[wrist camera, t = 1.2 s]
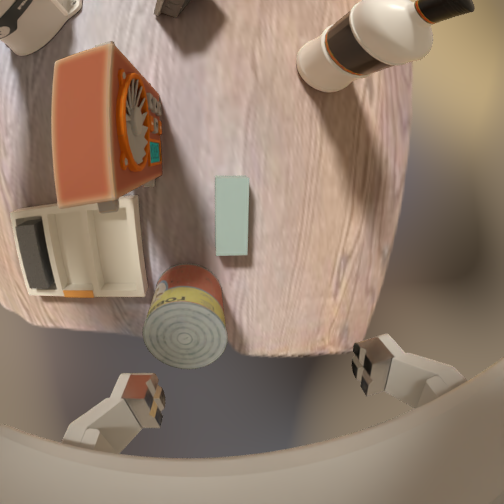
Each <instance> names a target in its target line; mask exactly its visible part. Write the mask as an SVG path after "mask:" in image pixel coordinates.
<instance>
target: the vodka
mask: <svg viewBox="0 0 504 504" xmlns="http://www.w3.org/2000/svg"><path fill="white" fill-rule="evenodd" d="M473 11H474V4H473V2H472V0H417V1H415V2H411V1H410V0H362V1H361V2H359V3H357V4H355V5H354V6H353V8H352V9H351V11H350V12H348V13H347V14H346V15H345V16H343V17H342V18H341V19H340V20H339V21H337V22H336V23H335V24H333V25H331V26H329V27H327V28H326V29H325V30H324V31H323V33H322V35H320V36H319V37H318V38H316V39H313V40H311V41H309V42H307V43H306V44H304V45H303V46H302V47H301V48H300V50H299V51H298V53H297V57H296V65H297V69H298V72H299V74H300V76H301V77H302V78H303V80H304V81H305V82H306V83H307V84H308V85H310V86H311V87H313V88H315V89H317V90H319V91H322V92H336V91H339V90H342V89H344V88H345V87H347V86H348V85H349V84H350V83H351V82H353V81H355V80H357V79H360V78H366V77H368V76H370V75H371V74H372V73H374V72H377V71H380V70H383V69H386V68H389V67H392V66H395V65H403V64H406V63H408V62H413V61H417V60H421V59H422V58H423V57H425V56H426V55H427V54H428V53H429V51H430V50H431V47H432V43H433V34H432V30H431V27H430V26H431V25H432V24H434V23H437V22H440V21H443V20H446V19H449V18H452V17H455V16H459V15H462V14H465V13H469V12H473Z"/></svg>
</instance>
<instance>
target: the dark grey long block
mask: <svg viewBox="0 0 504 504" xmlns="http://www.w3.org/2000/svg"><path fill="white" fill-rule="evenodd" d="M15 228H16V234H17V239H18V244H19V249H20V253H21V258H22V262H23V266H24V270H25V273H26V277H27V281H28V284H29V288H39V289H48V288H49V287H50V286H51V285H52V284H53V283H54V282H55V280H54V276H53V272H52V268H51V263H50V259H49V254H48V249H47V244H46V239H45V234H44V228H43V221H42V219H35V220H27V221H25V222H24V223H22V224H20V225H18V226H16V227H15Z"/></svg>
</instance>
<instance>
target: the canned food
mask: <svg viewBox="0 0 504 504" xmlns="http://www.w3.org/2000/svg"><path fill="white" fill-rule="evenodd" d="M143 339H144V343H145V345H146V347H147V348H148V350H149V351H150V353H151V354H152V355H153V356H154V357H156V358H157V359H158V360H159V361H161V362H163V363H165V364H167V365H169V366H172V367H176V368H181V369H196V368H201V367H204V366H207V365H209V364H211V363H213V362H214V361H216V360H217V359H218V358H219V357H220V356H221V355H222V354H223V352H224V351H225V348H226V345H227V341H228V335H227V330H226V325H225V317H224V309H223V300H222V288H221V285H220V283H219V281H218V279H217V278H216V277H215V275H214V274H213V273H212V272H210V271H209V270H207V269H206V268H204V267H202V266H199V265H195V264H180V265H176V266H173V267H171V268H169V269H168V270H166V271H165V272H164V273H163V274H162V275H161V277H160V278H159V280H158V282H157V285H156V290H155V293H154V296H153V299H152V302H151V305H150V308H149V312H148V315H147V318H146V320H145V323H144V326H143Z"/></svg>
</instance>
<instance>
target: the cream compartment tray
mask: <svg viewBox="0 0 504 504" xmlns="http://www.w3.org/2000/svg"><path fill="white" fill-rule="evenodd" d="M10 216H11V223H12V229H13V234H14V239H15V244H16V249H17V253H18V258H19V262H20V266H21V270H22V273H23V277H24V281H25V284H26V287H27V291H28V294H29V295H40V296H65V297H80V298H94V297H145V295H146V293H147V290H148V283H147V276H146V269H145V262H144V254H143V245H142V236H141V226H140V214H139V201H138V195H131V196H121V197H119V209H118V211H117V212H111V213H103V214H102V213H100V212H99V209H98V204H97V203H94V204H87V205H81V206H75V207H70V208H64V209H60V208H58V204H57V203H55V204H47V205H40V206H34V207H27V208H21V209H18V210H15V211H13V212H11V213H10ZM35 219H42V221H43V228H44V234H45V239H46V244H47V249H48V254H49V259H50V263H51V268H52V272H53V276H54V280H55V282H54V283H53V284H52V285H51V286H50V287H49V288H48V289H39V288H29V284H28V281H27V277H26V273H25V270H24V266H23V262H22V258H21V253H20V249H19V244H18V239H17V234H16V228H15V227H16V226H18V225H20V224H22V223H24V222H25V221H27V220H35Z"/></svg>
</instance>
